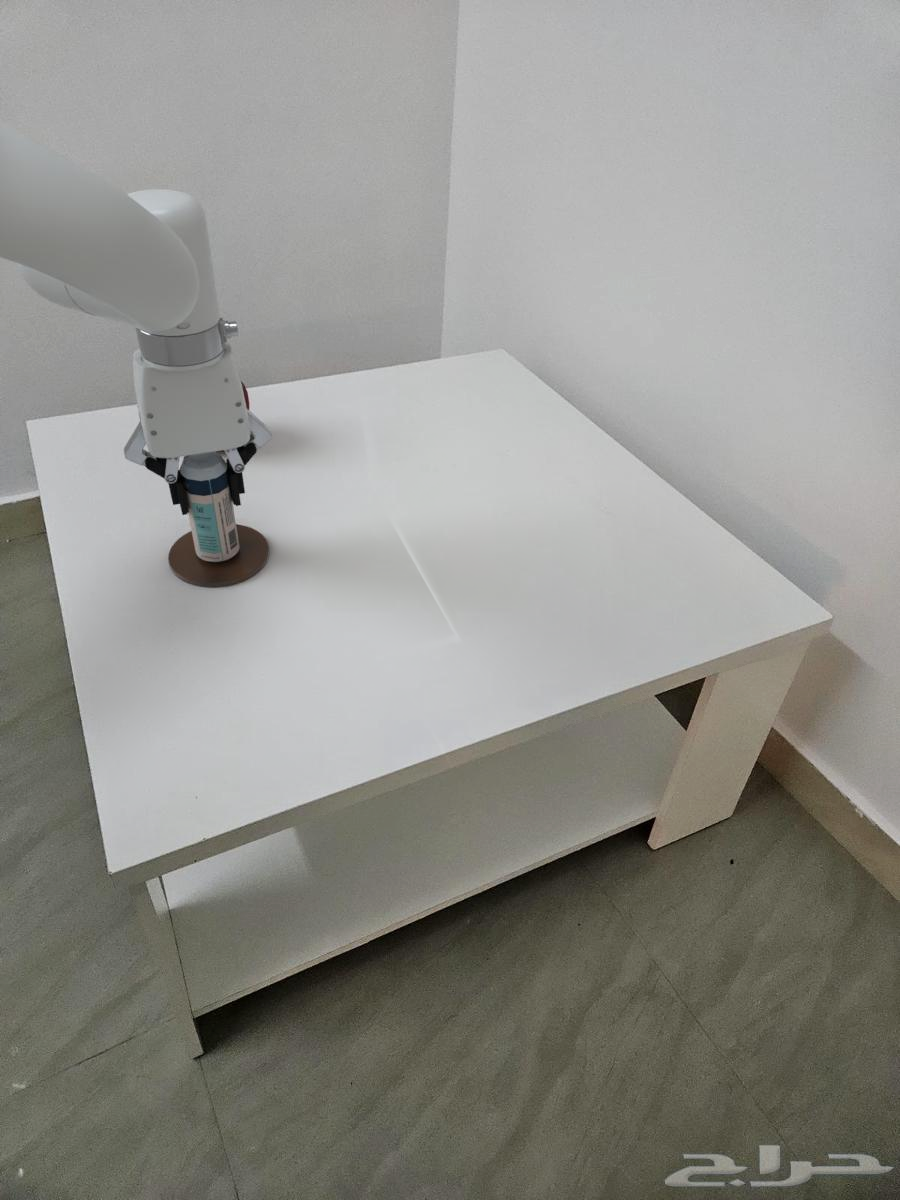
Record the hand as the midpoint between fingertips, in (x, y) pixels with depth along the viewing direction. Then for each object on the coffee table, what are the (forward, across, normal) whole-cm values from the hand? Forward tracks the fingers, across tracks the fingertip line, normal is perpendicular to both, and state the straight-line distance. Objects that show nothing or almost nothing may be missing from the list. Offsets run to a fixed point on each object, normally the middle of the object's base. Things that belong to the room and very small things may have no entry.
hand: (209, 501), depth 87 cm
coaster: (+7, 0, 0) cm, 7 cm away
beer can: (+7, 0, 0) cm, 7 cm away
